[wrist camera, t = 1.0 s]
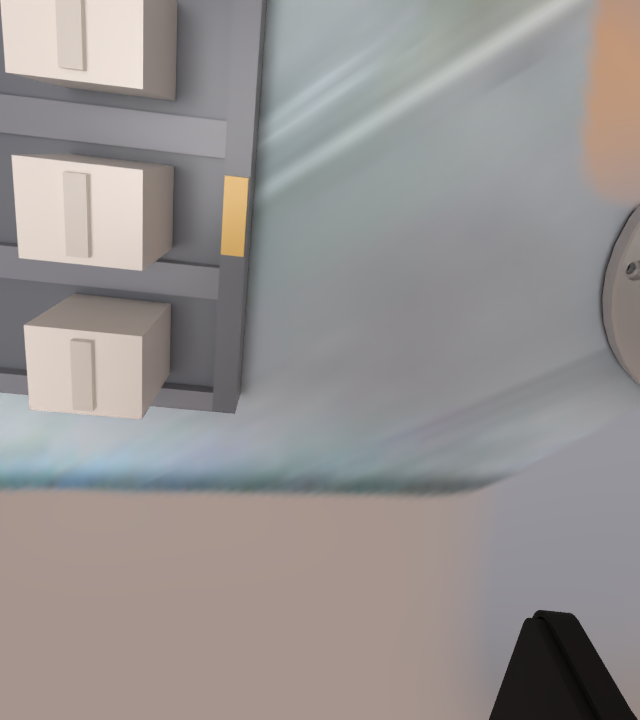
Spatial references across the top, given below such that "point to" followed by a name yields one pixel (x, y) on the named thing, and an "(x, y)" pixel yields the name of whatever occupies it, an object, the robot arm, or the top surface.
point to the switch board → (190, 198)
